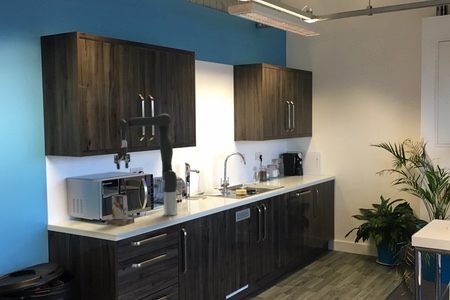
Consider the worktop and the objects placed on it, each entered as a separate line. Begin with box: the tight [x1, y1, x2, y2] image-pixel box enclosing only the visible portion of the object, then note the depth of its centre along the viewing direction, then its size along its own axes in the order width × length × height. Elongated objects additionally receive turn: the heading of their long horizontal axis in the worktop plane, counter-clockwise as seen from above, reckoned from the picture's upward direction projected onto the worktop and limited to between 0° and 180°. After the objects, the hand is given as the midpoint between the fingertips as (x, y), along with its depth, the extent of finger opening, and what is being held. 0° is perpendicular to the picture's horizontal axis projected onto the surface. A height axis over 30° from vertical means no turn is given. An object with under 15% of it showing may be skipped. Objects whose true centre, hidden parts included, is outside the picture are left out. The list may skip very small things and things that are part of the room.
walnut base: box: [106, 216, 135, 227], centre depth 339 cm, size 12×14×4 cm
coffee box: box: [111, 194, 129, 219], centre depth 337 cm, size 9×6×16 cm
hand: (122, 168), depth 355 cm, fingers open, 8 cm apart
